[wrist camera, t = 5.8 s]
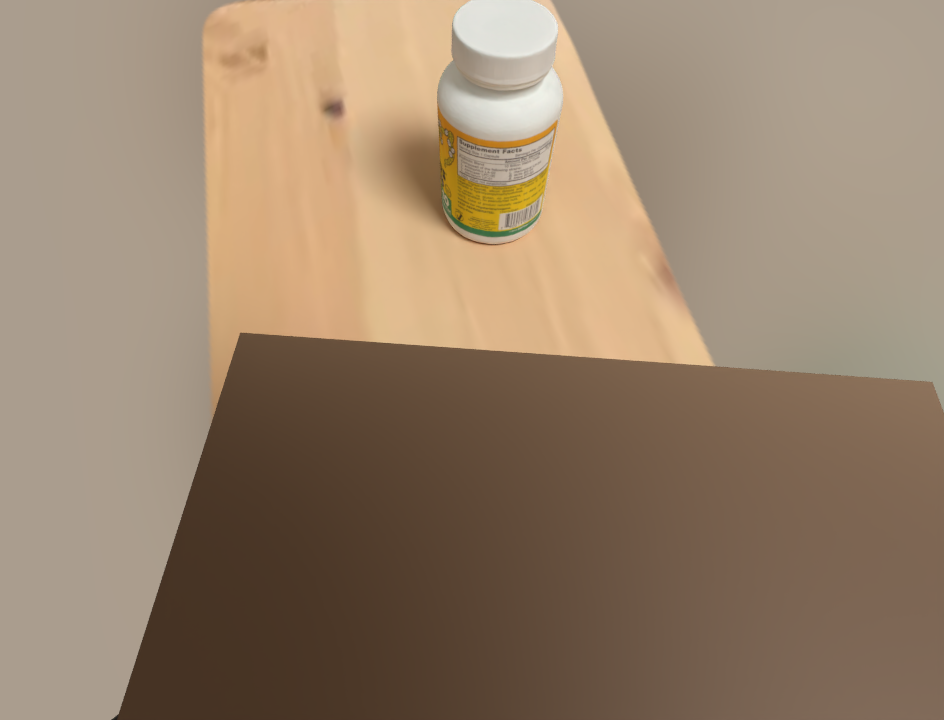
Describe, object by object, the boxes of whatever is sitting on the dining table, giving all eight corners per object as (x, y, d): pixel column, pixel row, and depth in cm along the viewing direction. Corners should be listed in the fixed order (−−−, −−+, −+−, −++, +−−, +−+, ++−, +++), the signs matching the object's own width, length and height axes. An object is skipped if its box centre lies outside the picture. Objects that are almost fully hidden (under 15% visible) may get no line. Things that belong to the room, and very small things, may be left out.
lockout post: (562, 758, 12) (1545, 2036, 1) (393, 745, 12) (-230, 1814, 1) (561, 576, 14) (931, 382, 3) (413, 564, 14) (241, 330, 3)
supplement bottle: (528, 258, 26) (560, 82, 18) (428, 233, 27) (412, 52, 19) (551, 184, 29) (589, -3, 20) (459, 162, 29) (458, -27, 21)
